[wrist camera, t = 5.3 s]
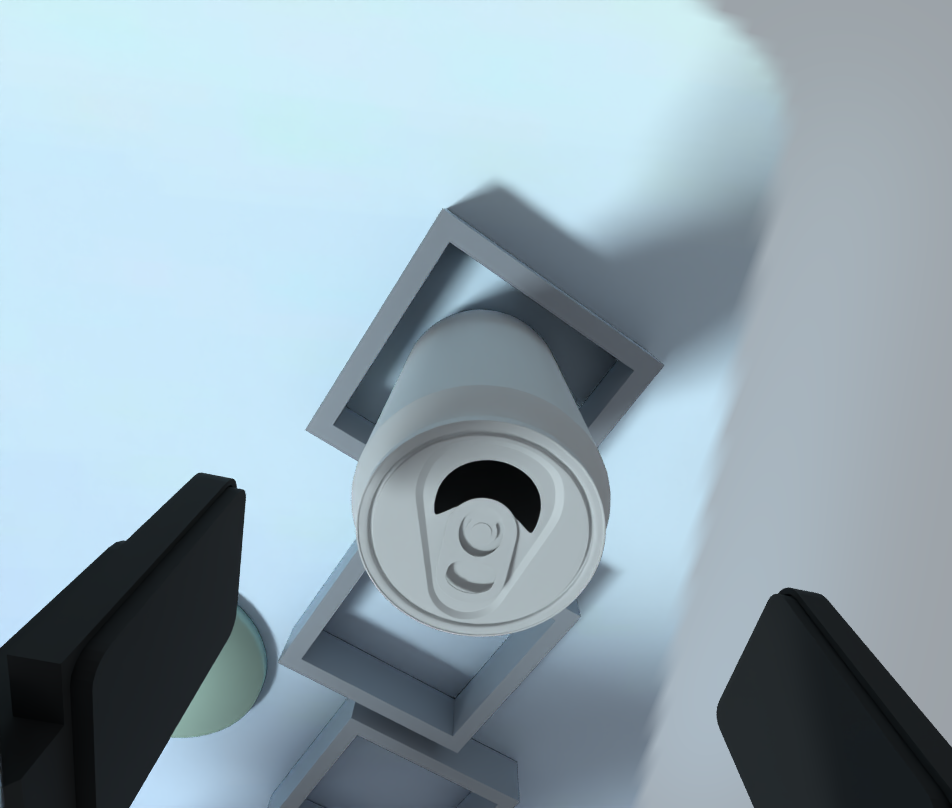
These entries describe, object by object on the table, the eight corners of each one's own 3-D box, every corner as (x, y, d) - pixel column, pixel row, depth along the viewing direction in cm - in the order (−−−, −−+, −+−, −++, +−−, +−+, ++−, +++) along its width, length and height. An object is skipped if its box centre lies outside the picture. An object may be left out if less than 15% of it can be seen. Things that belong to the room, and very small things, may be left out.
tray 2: (458, 715, 30) (457, 753, 28) (292, 628, 28) (277, 662, 26) (573, 585, 27) (580, 617, 25) (396, 480, 25) (389, 505, 23)
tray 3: (420, 862, 34) (416, 905, 32) (271, 794, 32) (257, 835, 30) (516, 761, 31) (519, 801, 29) (360, 681, 29) (351, 718, 27)
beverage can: (573, 324, 23) (663, 437, 12) (534, 463, 25) (579, 674, 14) (420, 290, 23) (359, 373, 11) (393, 434, 25) (320, 627, 13)
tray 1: (508, 524, 26) (511, 552, 24) (320, 410, 24) (305, 429, 22) (647, 351, 23) (664, 365, 21) (446, 208, 22) (442, 208, 19)
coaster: (215, 754, 31) (210, 764, 30) (40, 674, 29) (31, 683, 29) (301, 633, 28) (297, 642, 28) (114, 536, 26) (105, 543, 26)
